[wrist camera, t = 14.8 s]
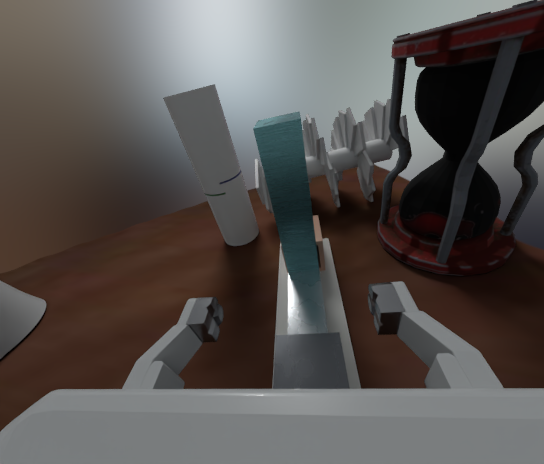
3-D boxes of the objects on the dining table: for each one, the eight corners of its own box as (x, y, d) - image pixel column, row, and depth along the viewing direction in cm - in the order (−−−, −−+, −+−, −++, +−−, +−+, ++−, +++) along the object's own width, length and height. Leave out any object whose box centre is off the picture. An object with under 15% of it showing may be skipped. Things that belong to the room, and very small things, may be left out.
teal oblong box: (334, 381, 20) (310, 170, 8) (294, 381, 20) (220, 186, 9) (317, 256, 32) (298, 106, 21) (292, 259, 33) (261, 114, 22)
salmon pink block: (325, 270, 31) (322, 240, 28) (287, 273, 32) (280, 245, 29) (320, 242, 36) (317, 215, 33) (287, 246, 37) (281, 220, 34)
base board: (398, 567, 13) (400, 569, 13) (267, 550, 15) (263, 551, 14) (328, 243, 37) (328, 238, 36) (281, 249, 39) (280, 243, 38)
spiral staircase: (273, 216, 55) (378, 194, 51) (261, 230, 38) (417, 197, 34) (255, 141, 52) (365, 110, 48) (234, 119, 35) (402, 68, 31)
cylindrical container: (264, 235, 43) (219, 83, 28) (229, 251, 41) (163, 97, 27) (252, 219, 48) (209, 85, 34) (221, 232, 47) (163, 97, 32)
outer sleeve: (371, 536, 14) (377, 536, 10) (284, 527, 14) (265, 524, 11) (341, 361, 22) (339, 332, 18) (286, 363, 22) (275, 335, 19)
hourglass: (369, 263, 32) (384, 39, 18) (382, 204, 43) (398, 36, 28) (528, 290, 24) (788, -68, 10) (496, 211, 35) (597, -17, 21)
